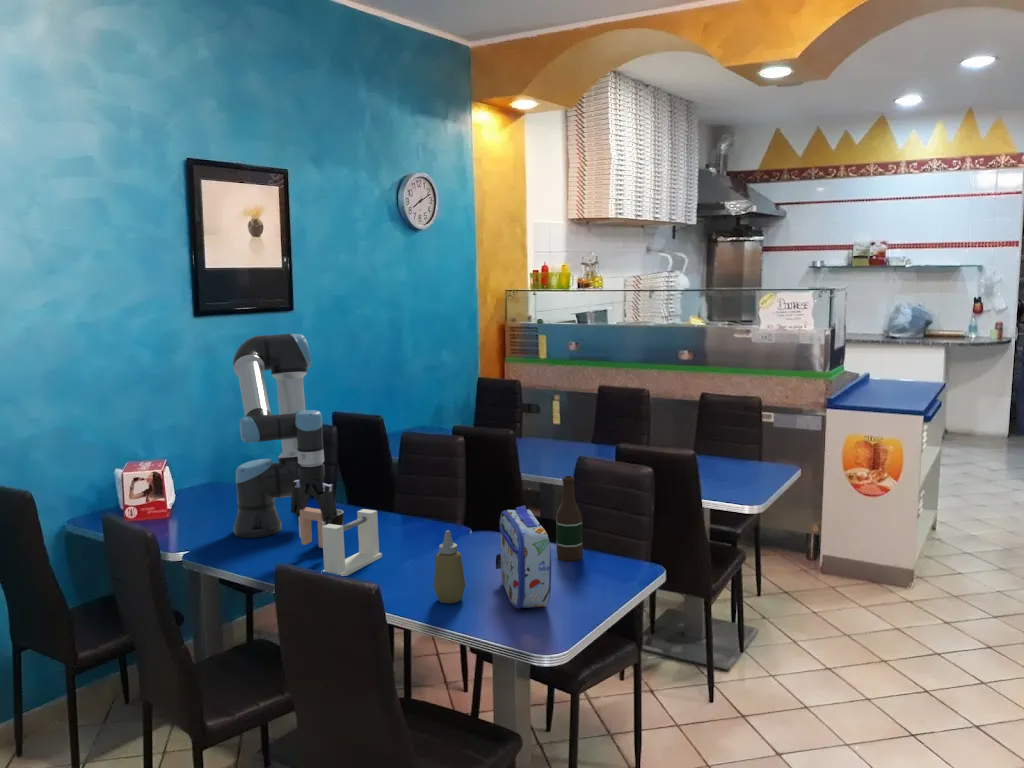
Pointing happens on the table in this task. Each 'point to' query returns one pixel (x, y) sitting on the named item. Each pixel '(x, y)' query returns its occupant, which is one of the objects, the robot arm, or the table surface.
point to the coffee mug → (337, 518)
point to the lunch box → (524, 559)
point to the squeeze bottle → (449, 572)
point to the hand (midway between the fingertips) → (315, 538)
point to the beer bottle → (569, 525)
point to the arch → (305, 524)
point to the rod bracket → (335, 544)
